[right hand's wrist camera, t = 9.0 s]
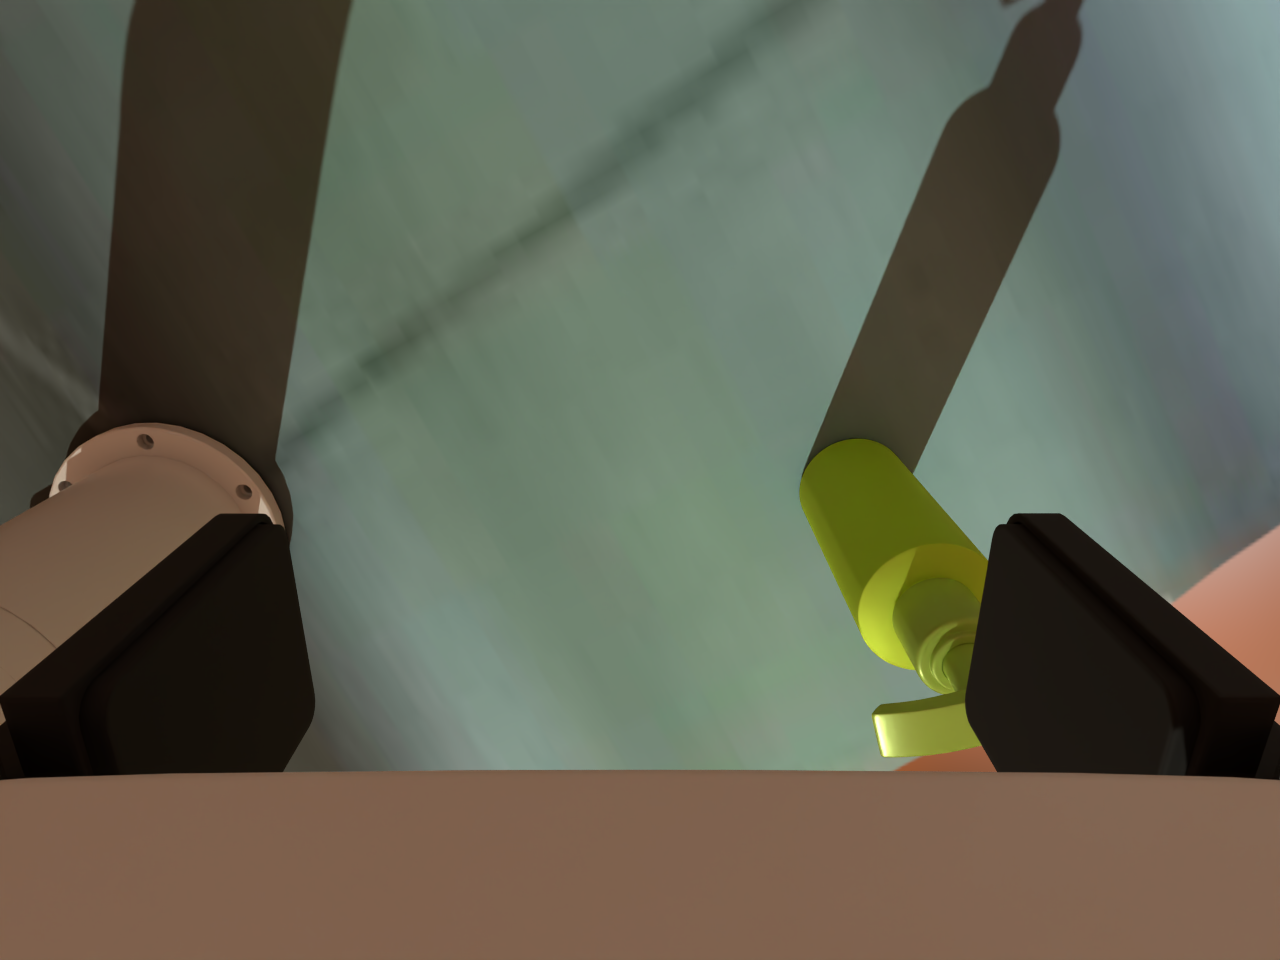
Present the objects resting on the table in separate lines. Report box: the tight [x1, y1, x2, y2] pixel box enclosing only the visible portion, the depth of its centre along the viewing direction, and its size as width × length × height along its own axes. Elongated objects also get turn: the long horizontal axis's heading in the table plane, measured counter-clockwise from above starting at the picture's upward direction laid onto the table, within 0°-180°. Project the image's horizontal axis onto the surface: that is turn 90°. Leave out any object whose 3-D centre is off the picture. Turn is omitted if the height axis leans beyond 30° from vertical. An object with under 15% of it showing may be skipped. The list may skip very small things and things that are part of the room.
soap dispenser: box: [800, 439, 988, 757], centre depth 36 cm, size 6×7×20 cm
